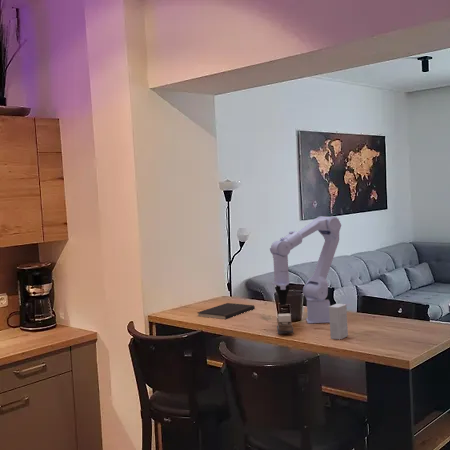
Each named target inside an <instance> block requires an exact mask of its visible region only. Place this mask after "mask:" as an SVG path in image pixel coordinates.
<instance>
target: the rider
mask: <svg viewBox="0 0 450 450" xmlns="http://www.w3.org/2000/svg"><path fill="white" fill-rule="evenodd" d="M277 314H278V317H277V318H278V320H279V322H282V324H288V322H292V316H291V312H290V313H277Z"/></svg>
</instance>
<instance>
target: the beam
mask: <svg viewBox="0 0 450 450" xmlns="http://www.w3.org/2000/svg"><path fill="white" fill-rule="evenodd" d="M276 321H277V322H276V323H277V326H276V332H277V334H279V335H280V334H283V335H284V334H294V326H293V322H292V321H291V322H288V324H282V322H279V320H278V317H276Z"/></svg>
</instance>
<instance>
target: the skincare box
mask: <svg viewBox="0 0 450 450" xmlns="http://www.w3.org/2000/svg"><path fill="white" fill-rule="evenodd" d="M347 312H348V309H347V304H345V303H335V304H332V305H330V306H329V317H330V322H329V332H330V336H329V337H330V339H331V340H338V339H339V340H340V339H341V340H343V339H345V338H346V337H349V332H348V331H349V330H348V328H349V327H348V313H347ZM339 340H338V341H339Z"/></svg>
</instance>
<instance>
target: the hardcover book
mask: <svg viewBox="0 0 450 450" xmlns="http://www.w3.org/2000/svg"><path fill="white" fill-rule="evenodd" d="M255 307H256V306H255V305H254V304H243V303H230V302H226V303H223V304H219V305H217V306H214V307H211V308H208V309H204V310H201V311H199V312H196V313H197V317H203V318H210V319H211V318H212V319H219V320H228V319H230V318H234V317H237V316H239V314H240V315H242V314H245V313H248V312H251V311H253V309H254V310H255V309H256V308H255ZM250 310H251V311H250ZM247 311H248V312H247ZM244 312H245V313H244ZM241 313H242V314H241ZM236 315H237V316H236ZM233 316H234V317H233Z"/></svg>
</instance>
